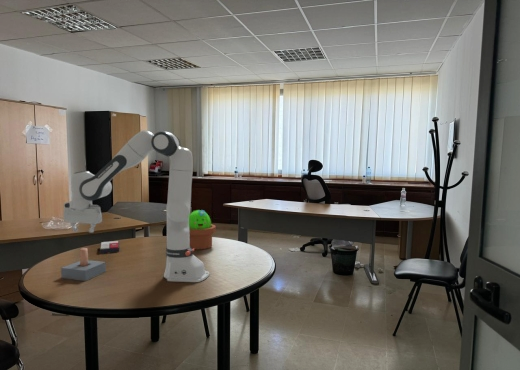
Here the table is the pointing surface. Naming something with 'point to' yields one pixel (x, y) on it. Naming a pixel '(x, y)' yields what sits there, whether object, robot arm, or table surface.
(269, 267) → the table surface
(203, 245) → the potted cactus
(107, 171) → the robot arm
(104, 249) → the black white red box
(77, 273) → the socket block
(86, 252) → the peg
